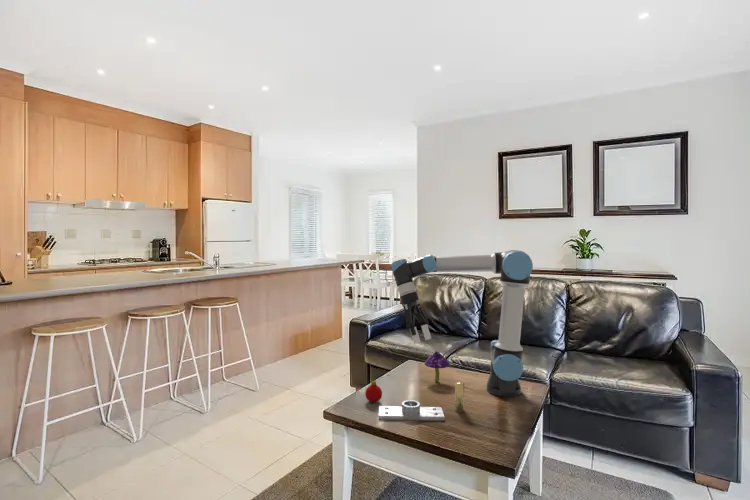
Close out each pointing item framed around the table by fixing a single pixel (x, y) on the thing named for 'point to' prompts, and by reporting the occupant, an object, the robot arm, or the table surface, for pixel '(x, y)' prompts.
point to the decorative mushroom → (437, 363)
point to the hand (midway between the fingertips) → (423, 341)
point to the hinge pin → (459, 396)
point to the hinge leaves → (410, 412)
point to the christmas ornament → (373, 392)
